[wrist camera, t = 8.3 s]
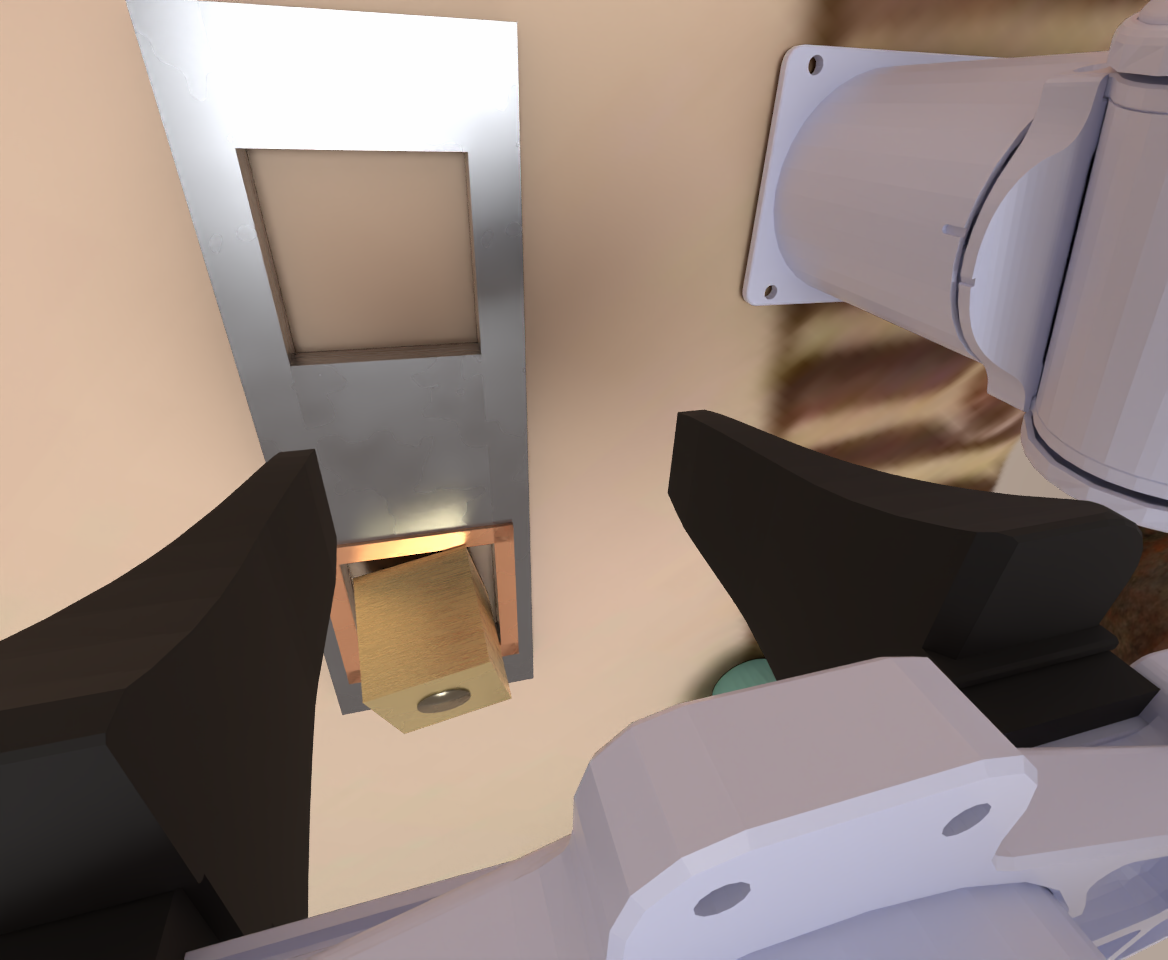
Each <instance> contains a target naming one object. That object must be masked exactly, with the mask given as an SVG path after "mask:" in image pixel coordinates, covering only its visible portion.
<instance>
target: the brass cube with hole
mask: <svg viewBox="0 0 1168 960" xmlns="http://www.w3.org/2000/svg"><path fill="white" fill-rule="evenodd" d="M353 582H354V595H355V608H356V621H357V634H358V647H359V660H360V673H361V686H362V699H363V704H365V705H366V706H368V707H369V708H370V709H372V710H373V711H374V712H376V713H377V714H378V715H380V716H381V717H382V718H384V719H385V720H386V721H388V722H389V723H390V724H392V725H393V726H394V727H396V728H397V729H398V730H400V731H401V732H403V733H404V734H406V733H409V732H412V731H415V730H418V729H421V728H424V727H427V726H430V725H433V724H436V723H439V722H442V721H445V720H448V719H451V718H454V717H457V716H460V715H463V714H466V713H469V712H472V711H475V710H478V709H481V708H484V707H487V706H490V705H493V704H496V703H499V702H502V701H505V700H508V699H511V693H510V689H509V684H508V680H507V676H506V671H505V667H504V663H503V658H502V654H501V649H500V645H499V641H498V636H497V632H496V627H495V623H494V619H493V614H492V610H491V605H490V601H489V597H488V593H487V591H486V588H485V586H484V584H483V582H482V580H481V578H480V576H479V574H478V571H477V569H476V567H475V565H474V563H473V561H472V559H471V557H470V555H469V552H468V550H467V548H466V546H465V545H464V546H460V547H457V548H453V549H450V550H447V551H443V552H440V553H437V554H433V555H430V556H427V557H423V558H420V559H416V560H413V561H410V562H406V563H403V564H400V565H396V566H393V567H390V568H386V569H383V570H379V571H376V572H373V573H369V574H366V575H363V576H359V577H356V578H353Z"/></svg>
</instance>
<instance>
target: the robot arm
mask: <svg viewBox="0 0 1168 960" xmlns="http://www.w3.org/2000/svg"><path fill="white" fill-rule="evenodd" d="M812 57H814V58H815V60H816V68H815V70H814V72H813V73H812V74H810V72H809V71H808V64H809V61H810V59H811V58H812ZM771 285H772V290H771V292H770V294H769V295H768V296H765V290H766V288H768V287H769V286H771ZM743 298H744V300H745V301H746V302H747V303H749V304H751V305H754V306H762V305H782V304H803V303H824V302H847V303H849V304H851V305H853V306H855V307H858V308H860V309H862V310H864V311H867V312H869V313H871V314H873V315H875V316H878V317H880V318H882V319H884V320H886V321H889V322H891V323H893V324H895V325H898V326H900V327H902V328H904V329H906V330H909V331H911V332H913V333H915V334H918V335H920V336H922V337H924V338H926V339H929V340H931V341H933V342H935V343H938V344H940V345H942V346H944V347H946V348H949V349H951V350H953V351H955V352H957V353H960V354H962V355H964V356H966V357H969V358H971V359H973V360H975V361H977V362H980V363H982V364H983V365H984V366H985V368H986V371H987V376H988V388H987V393H988V394H990V395H992V396H994V397H996V398H998V399H1000V400H1002V401H1004V402H1006V403H1008V404H1010V405H1012V406H1014V407H1016V408H1018V409H1020V410H1022V411H1024V412H1026V414H1025V415H1024V418H1023V423H1022V427H1021V443H1022V446H1023V449H1024V452H1025V455H1026V457H1027V458H1028V460H1029V461H1030V463H1031V464H1032V465H1033V467H1034V468H1035V469H1036V470H1037V471H1038V472H1039V473H1040V474H1041V475H1042V476H1043V477H1044V478H1045V479H1046V480H1048V481H1049V482H1050V483H1052V484H1053V485H1055V486H1056V487H1057V488H1059V489H1060V490H1062V491H1063V492H1065V493H1066V494H1068V495H1070V496H1071V497H1073V498H1075V499H1077V500H1072V499H1058V498H1045V497H1031V496H1018V495H1010V494H1002V493H994V492H986V491H979V490H971V489H965V488H959V487H952V486H946V485H941V484H936V483H931V482H926V481H921V480H916V479H911V478H906V477H902V476H897V475H893V474H889V473H885V472H881V471H877V470H874V469H870V468H867V467H863V466H859V465H856V464H852V463H849V462H846V461H843V460H839V459H836V458H833V457H830V456H828V455H825V454H822V453H819V452H816V451H813V450H811V449H808V448H805V447H802V446H800V445H797V444H794V443H792V442H789V441H787V440H784V439H782V438H779V437H777V436H774V435H772V434H769V433H767V432H764V431H762V430H760V429H757V428H755V427H752V426H750V425H747V424H745V423H742V422H740V421H737V420H735V419H732V418H729V417H727V416H724V415H721V414H718V413H715V412H711V411H707V410H697V411H687V412H678V415H677V423H676V431H675V439H674V447H673V455H672V463H671V471H670V479H669V487H668V495H669V497H670V499H671V501H672V504H673V506H674V508H675V510H676V513H677V515H678V517H679V519H680V521H681V523H682V525H683V527H684V529H685V530H686V532H687V533H688V535H689V536H690V538H691V539H692V541H693V542H694V544H695V545H696V547H697V548H698V550H699V551H700V553H701V554H702V556H703V557H704V559H705V560H706V562H707V563H708V565H709V566H710V568H711V569H712V570H713V572H714V573H715V575H716V576H717V578H718V579H719V581H720V582H721V584H722V585H723V586H724V588H725V589H726V591H727V592H728V594H729V595H730V597H731V598H732V600H733V601H734V603H735V604H736V606H737V607H738V609H739V610H740V612H741V614H742V615H743V617H744V619H745V620H746V622H747V624H748V626H749V628H750V630H751V631H752V633H753V635H754V637H755V639H756V641H757V643H758V645H759V647H760V649H761V650H762V652H763V654H764V656H765V658H766V660H767V662H768V664H769V666H770V668H771V670H772V672H773V674H774V676H775V679H776V681H774V682H770V683H766V684H761V685H757V686H753V687H748V688H744V689H740V690H735V691H731V692H727V693H722V694H718V695H714V696H709V697H705V698H701V699H696V700H692V701H688V702H683V703H679V704H677V705H674V706H672V707H669V708H667V709H664V710H662V711H659V712H657V713H654V714H652V715H649V716H647V717H644V718H642V719H639V720H637V721H635V722H632V723H631V724H629V725H628V726H627V727H626V728H625V729H623V730H622V731H621V732H620V733H619V734H617V735H616V736H615V737H614V738H613V739H611V740H610V741H609V742H608V743H607V744H605V745H604V746H603V747H602V748H601V749H599V750H598V751H597V752H596V753H595V754H594V756H593V757H592V759H591V760H590V762H589V764H588V766H587V768H586V771H585V773H584V775H583V777H582V780H581V782H580V784H579V786H578V789H577V791H576V793H575V795H574V808H573V830H572V834H569V835H567V836H565V837H563V838H561V839H559V840H557V841H554V842H552V843H550V844H548V845H546V846H544V847H542V848H540V849H537V850H535V851H533V852H531V853H529V854H527V855H525V856H523V857H521V858H518V859H516V860H513V861H510V862H506V863H502V864H499V865H495V866H492V867H488V868H485V869H481V870H478V871H474V872H470V873H467V874H463V875H460V876H456V877H453V878H449V879H445V880H442V881H438V882H435V883H431V884H428V885H424V886H420V887H417V888H413V889H410V890H406V891H403V892H399V893H395V894H392V895H388V896H385V897H381V898H378V899H374V900H371V901H367V902H363V903H360V904H356V905H353V906H349V907H346V908H342V909H338V910H335V911H331V912H328V913H324V914H321V915H317V916H313V917H310V918H308V869H309V828H310V798H311V774H312V753H313V735H314V718H315V704H316V696H317V688H318V681H319V676H320V670H321V664H322V659H323V653H324V648H325V642H326V636H327V631H328V625H329V620H330V614H331V608H332V602H333V596H334V590H335V584H336V564H337V536H336V532H335V528H334V524H333V520H332V516H331V512H330V508H329V504H328V500H327V496H326V491H325V487H324V483H323V479H322V475H321V471H320V467H319V463H318V459H317V455H316V451H315V449H307V450H297V451H287V452H279V453H277V454H276V455H275V456H273V457H272V458H271V459H270V460H269V461H267V462H266V463H265V464H264V465H263V466H262V467H261V468H260V469H259V470H257V471H256V472H255V473H254V474H253V475H252V476H251V477H250V478H249V479H248V480H246V481H245V482H244V483H243V484H242V485H241V486H240V487H239V488H238V489H236V490H235V491H234V492H233V493H232V494H231V495H230V496H228V497H227V498H226V499H225V500H224V501H223V502H222V503H221V504H219V505H218V506H217V507H216V508H215V509H213V510H212V511H211V512H210V513H208V514H207V515H206V516H205V517H203V518H202V519H201V520H200V521H198V522H197V523H196V524H195V525H193V526H192V527H191V528H190V529H188V530H187V531H186V532H185V533H183V534H182V535H181V536H180V537H178V538H177V539H176V540H174V541H173V542H172V543H170V544H169V545H167V546H166V547H165V548H163V549H162V550H160V551H159V552H158V553H156V554H155V555H153V556H152V557H150V558H149V559H147V560H146V561H144V562H143V563H141V564H140V565H138V566H136V567H135V568H133V569H132V570H130V571H129V572H127V573H126V574H124V575H123V576H121V577H119V578H118V579H116V580H114V581H113V582H111V583H109V584H108V585H106V586H104V587H102V588H100V589H99V590H97V591H95V592H93V593H91V594H90V595H88V596H86V597H84V598H82V599H81V600H79V601H77V602H75V603H73V604H72V605H70V606H68V607H66V608H64V609H63V610H61V611H59V612H57V613H55V614H54V615H52V616H50V617H48V618H46V619H44V620H42V621H40V622H38V623H36V624H34V625H32V626H30V627H28V628H26V629H24V630H22V631H20V632H18V633H16V634H14V635H12V636H10V637H8V638H6V639H4V640H2V641H0V960H1124V959H1126V958H1128V957H1130V956H1132V955H1134V954H1136V953H1138V952H1140V951H1142V950H1144V949H1146V948H1148V947H1150V946H1152V945H1154V944H1156V943H1158V942H1160V941H1162V940H1164V939H1166V938H1168V649H1165V650H1161V651H1158V652H1154V653H1150V654H1148V655H1146V656H1143V657H1141V658H1140V659H1138V660H1137V661H1135V662H1134V663H1132V664H1131V665H1130V666H1129V665H1128V664H1127V663H1125V662H1124V661H1123V660H1121V659H1120V658H1119V657H1117V656H1116V655H1115V654H1113V653H1112V652H1111V651H1109V650H1113V649H1115V648H1116V647H1117V645H1118V644H1119V641H1118V638H1117V637H1116V636H1115V635H1114V634H1112V633H1111V632H1110V631H1108V630H1107V629H1105V628H1104V627H1103V626H1101V625H1100V624H1099V623H1100V622H1101V620H1102V619H1103V617H1104V616H1105V615H1106V613H1107V612H1108V610H1109V609H1110V607H1111V606H1112V604H1113V603H1114V602H1115V600H1116V599H1117V597H1118V596H1119V594H1120V593H1121V591H1122V590H1123V589H1124V587H1125V586H1126V584H1127V583H1128V581H1129V580H1130V578H1131V576H1132V575H1133V573H1134V571H1135V570H1136V568H1137V566H1138V564H1139V561H1140V558H1141V555H1142V552H1143V537H1142V532H1141V530H1140V529H1139V527H1138V526H1137V525H1139V526H1142V527H1146V528H1149V529H1153V530H1157V531H1161V532H1166V533H1168V0H1150V1H1149V2H1148V3H1147V4H1146V5H1145V6H1144V7H1143V8H1142V9H1141V11H1140V12H1137V13H1135V14H1133V15H1132V16H1130V17H1128V18H1127V19H1125V20H1124V21H1123V22H1122V23H1121V24H1120V25H1119V26H1118V28H1117V29H1116V31H1115V33H1114V35H1113V37H1112V41H1111V46H1110V50H1109V51H1097V52H1083V53H1069V54H1055V55H1041V56H1027V57H1013V58H999V57H984V56H969V55H954V54H940V53H925V52H910V51H895V50H880V49H865V48H850V47H835V46H820V45H805V44H804V45H798V46H793V47H792V48H791V49H789V50H788V51H787V53H786V54H785V56H784V58H783V61H782V64H781V70H780V76H779V82H778V87H777V93H776V99H775V105H774V111H773V117H772V122H771V128H770V134H769V140H768V146H767V151H766V157H765V163H764V169H763V175H762V181H761V186H760V192H759V198H758V204H757V210H756V215H755V221H754V227H753V233H752V239H751V245H750V250H749V256H748V262H747V268H746V274H745V280H744V285H743Z"/></svg>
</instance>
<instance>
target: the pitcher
mask: <svg viewBox="0 0 1168 960" xmlns="http://www.w3.org/2000/svg"><path fill="white" fill-rule="evenodd" d="M1137 526H1138V527H1139V529H1140V530H1141V532H1142V537H1143V552H1142V555H1141V558H1140V561H1139V564H1138V566H1137V568H1136V570H1135V571H1134V573H1133V575H1132V576H1131V578H1130V580H1129V581H1128V583H1127V584H1126V586H1125V587H1124V589H1123V590H1122V591H1121V593H1120V594H1119V596H1118V597H1117V599H1116V600H1115V602H1114V603H1113V604H1112V606H1111V607H1110V609H1109V610H1108V612H1107V613H1106V615H1105V616H1104V617H1103V619H1102V620H1101V622H1100V623H1099V624H1100V625H1101V626H1103V627H1104V628H1105V629H1107V630H1108V631H1110V632H1111V633H1112V634H1114V635H1115V636H1116V637H1117V638H1118V641H1119V644H1118V645H1117V647H1116V648H1115V649H1113V650H1109V651H1111V652H1112V653H1113V654H1115V655H1116V656H1117V657H1119V658H1120V659H1121V660H1123V661H1124V662H1125V663H1127V664H1128V665H1129V666H1130V665H1131V664H1132V663H1134V662H1135V661H1137V660H1138V659H1140V658H1141V657H1143V656H1146V655H1148V654H1150V653H1154V652H1158V651H1161V650H1165V649H1168V533H1166V532H1161V531H1157V530H1153V529H1149V528H1146V527H1142V526H1139V525H1137Z"/></svg>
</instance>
